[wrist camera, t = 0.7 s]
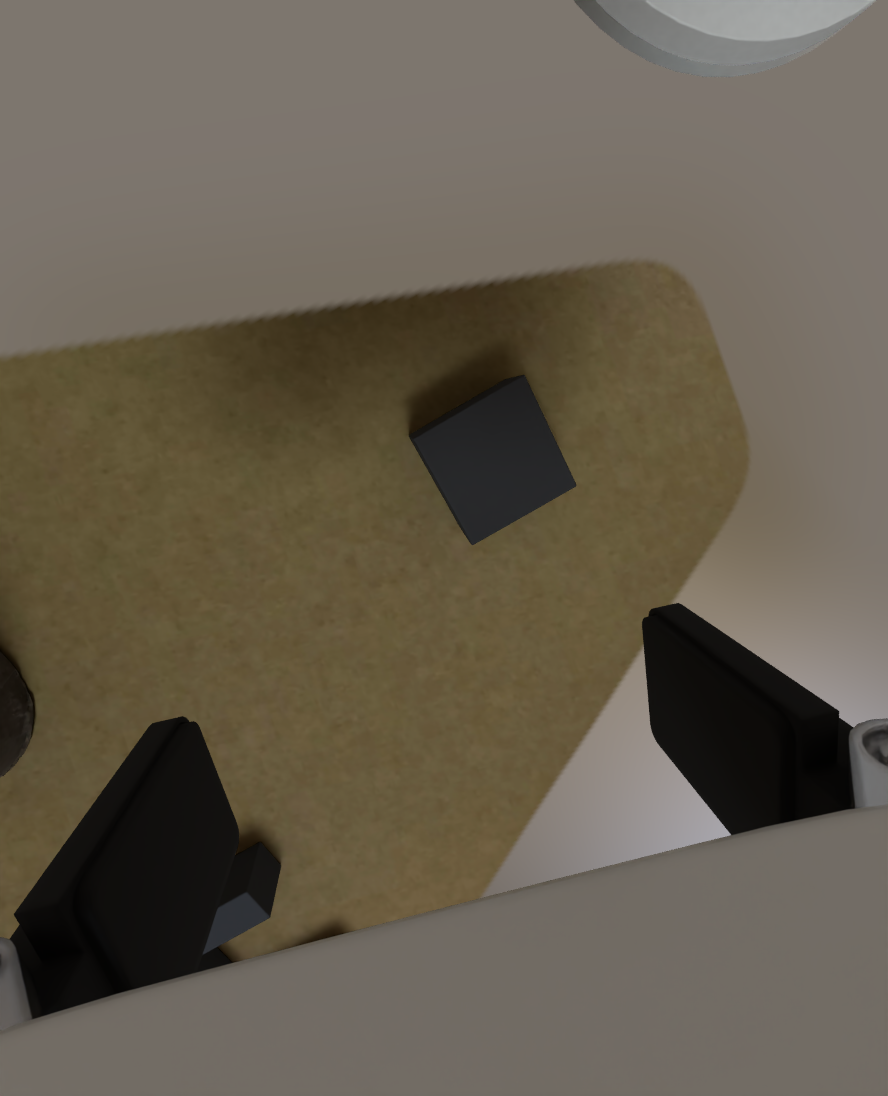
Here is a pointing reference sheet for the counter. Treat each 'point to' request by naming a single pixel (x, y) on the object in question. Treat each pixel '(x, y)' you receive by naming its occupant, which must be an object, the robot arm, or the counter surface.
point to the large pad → (242, 901)
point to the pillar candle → (13, 716)
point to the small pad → (494, 458)
